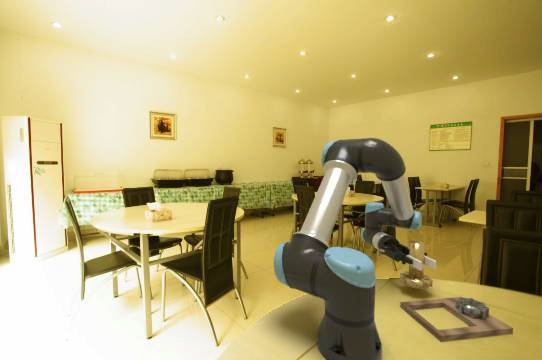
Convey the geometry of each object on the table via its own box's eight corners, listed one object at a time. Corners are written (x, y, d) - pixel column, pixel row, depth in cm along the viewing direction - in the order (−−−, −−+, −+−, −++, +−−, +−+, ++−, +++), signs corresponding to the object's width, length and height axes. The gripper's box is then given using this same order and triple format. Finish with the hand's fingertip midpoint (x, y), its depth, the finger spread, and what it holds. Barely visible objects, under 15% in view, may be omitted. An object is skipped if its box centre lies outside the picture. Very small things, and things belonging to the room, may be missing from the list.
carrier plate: (440, 341, 65) (440, 335, 64) (400, 306, 80) (400, 302, 80) (512, 333, 67) (512, 328, 67) (459, 301, 83) (460, 296, 83)
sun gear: (471, 321, 70) (472, 312, 70) (449, 306, 78) (449, 298, 78) (495, 318, 71) (496, 310, 71) (471, 303, 79) (471, 296, 79)
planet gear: (412, 290, 83) (413, 247, 82) (394, 277, 93) (394, 239, 92) (439, 288, 84) (441, 246, 84) (418, 275, 94) (419, 238, 93)
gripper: (405, 251, 107) (451, 275, 84) (366, 253, 105) (402, 278, 82) (405, 234, 107) (452, 253, 84) (366, 235, 105) (403, 255, 81)
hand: (428, 265), depth 83 cm, fingers closed on planet gear, 4 cm apart
